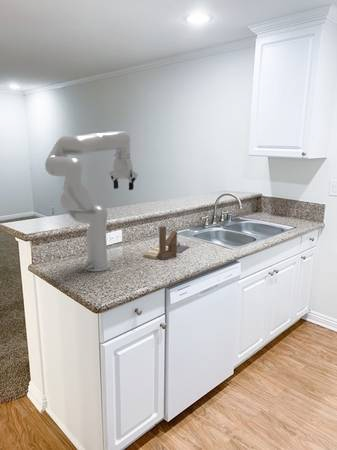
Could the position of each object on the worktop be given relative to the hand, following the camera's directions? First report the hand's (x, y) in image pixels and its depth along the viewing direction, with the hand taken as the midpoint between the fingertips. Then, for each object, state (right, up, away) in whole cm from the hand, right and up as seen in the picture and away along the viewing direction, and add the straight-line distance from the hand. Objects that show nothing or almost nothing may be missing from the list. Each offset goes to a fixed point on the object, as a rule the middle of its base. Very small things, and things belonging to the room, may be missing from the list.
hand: (123, 189), depth 184 cm
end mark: (+31, -34, +19) cm, 50 cm away
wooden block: (+24, -37, +4) cm, 44 cm away
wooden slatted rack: (+21, -34, +15) cm, 43 cm away
